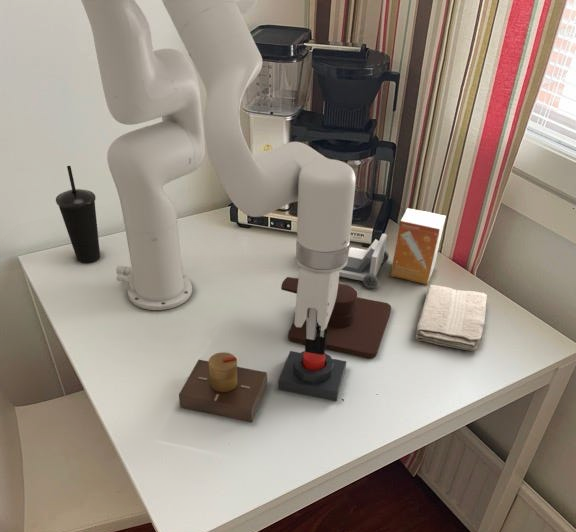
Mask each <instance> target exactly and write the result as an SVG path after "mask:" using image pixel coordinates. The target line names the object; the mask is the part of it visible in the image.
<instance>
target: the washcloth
mask: <svg viewBox="0 0 576 532" xmlns="http://www.w3.org/2000/svg"><path fill="white" fill-rule="evenodd" d="M487 301H488V295H487V293H485V292H480V291H473V290H463V289H461V290H459V289H454V288H453V287H448V286H442V285H437V284H430V285H428V287H427V292H426V295H425V298H424V302H423V304H422V309H421V312H420V316H419V319H418V322H417V325H416V334H415V340H417V341H421V342H426V343H429V344H434V345H438V346H443V347H450V348H454V349H460V350H464V351H472V352H475V351H476V350H477V348H478V347H479V345H480V340H481V339H482V336H483V331H484V326H485V324H486V322H485V321H486V312H487Z"/></svg>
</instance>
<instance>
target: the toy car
mask: <svg viewBox="0 0 576 532" xmlns="http://www.w3.org/2000/svg"><path fill="white" fill-rule="evenodd" d="M387 237H388V234H387V233H382V234H381V236H380V238H379V240H378V239H376V238H375V240H373V241H372V243H371V244H370V245H369V247H368V248H367V249H362V248H357V247H353V246H351V247H349V253H348V263H347V265H346V266H345V267H344V268H343V269H341V270H340V271H339V277H341V278H347V279H351V280H357V281H361V282H362V284H363V286H364V287H365V288H367V289H370V290H371V289H372V290H373V289H375V288H377V286H378V284H379V279H378V277H377V275H378V272H379V270H380V268H381V266H382V264H384V263H386V262H388V261H389V258H390V254H389V252H388V251H387V250H386V246H387V245H386V244H387V239H388V238H387Z"/></svg>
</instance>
